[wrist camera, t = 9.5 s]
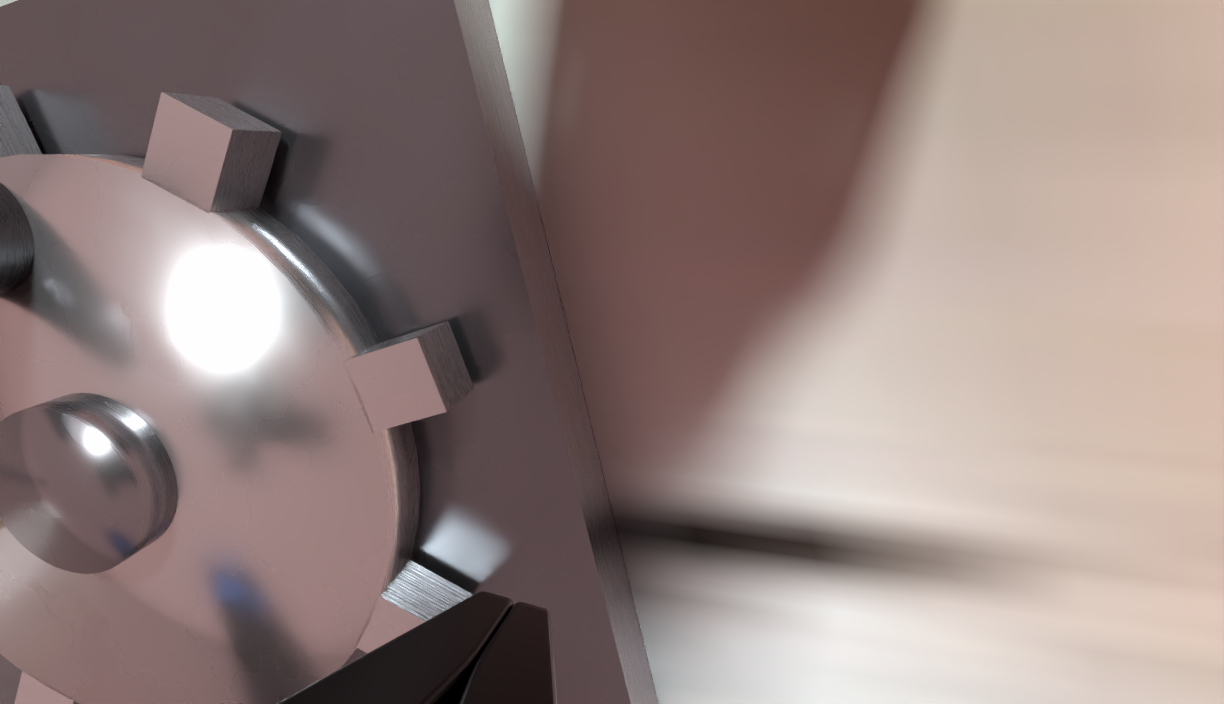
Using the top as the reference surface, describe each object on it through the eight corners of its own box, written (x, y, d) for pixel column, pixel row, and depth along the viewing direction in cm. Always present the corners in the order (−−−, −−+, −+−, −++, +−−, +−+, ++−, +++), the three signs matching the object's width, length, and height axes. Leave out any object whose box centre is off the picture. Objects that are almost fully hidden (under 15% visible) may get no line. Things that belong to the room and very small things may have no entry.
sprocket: (591, 691, 20) (512, 949, 13) (62, 773, 25) (-178, 987, 18) (299, -63, 16) (-8, -210, 9) (-254, 219, 21) (-694, 247, 15)
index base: (-202, 125, 23) (-480, 117, 18) (463, -107, 17) (338, -217, 12) (77, 736, 28) (-76, 867, 23) (659, 707, 23) (630, 873, 17)
